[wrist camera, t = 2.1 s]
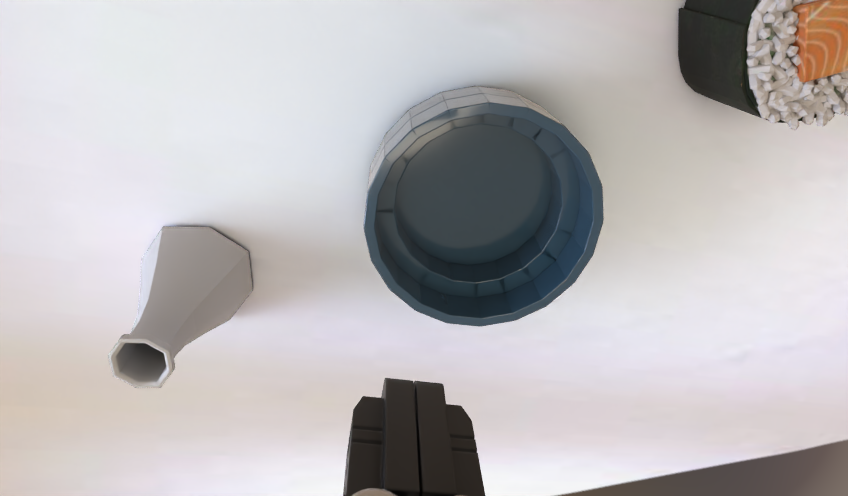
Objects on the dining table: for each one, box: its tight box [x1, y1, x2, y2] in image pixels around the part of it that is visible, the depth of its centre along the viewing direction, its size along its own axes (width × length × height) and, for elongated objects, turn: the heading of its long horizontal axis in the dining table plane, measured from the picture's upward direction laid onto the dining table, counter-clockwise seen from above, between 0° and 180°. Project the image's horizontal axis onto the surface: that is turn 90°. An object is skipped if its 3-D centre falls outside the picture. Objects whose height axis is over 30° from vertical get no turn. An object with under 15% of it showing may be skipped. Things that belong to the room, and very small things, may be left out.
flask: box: [108, 227, 253, 388], centre depth 34 cm, size 7×7×10 cm
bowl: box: [364, 86, 603, 326], centre depth 34 cm, size 13×13×6 cm
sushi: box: [679, 0, 848, 130], centre depth 30 cm, size 8×8×8 cm
